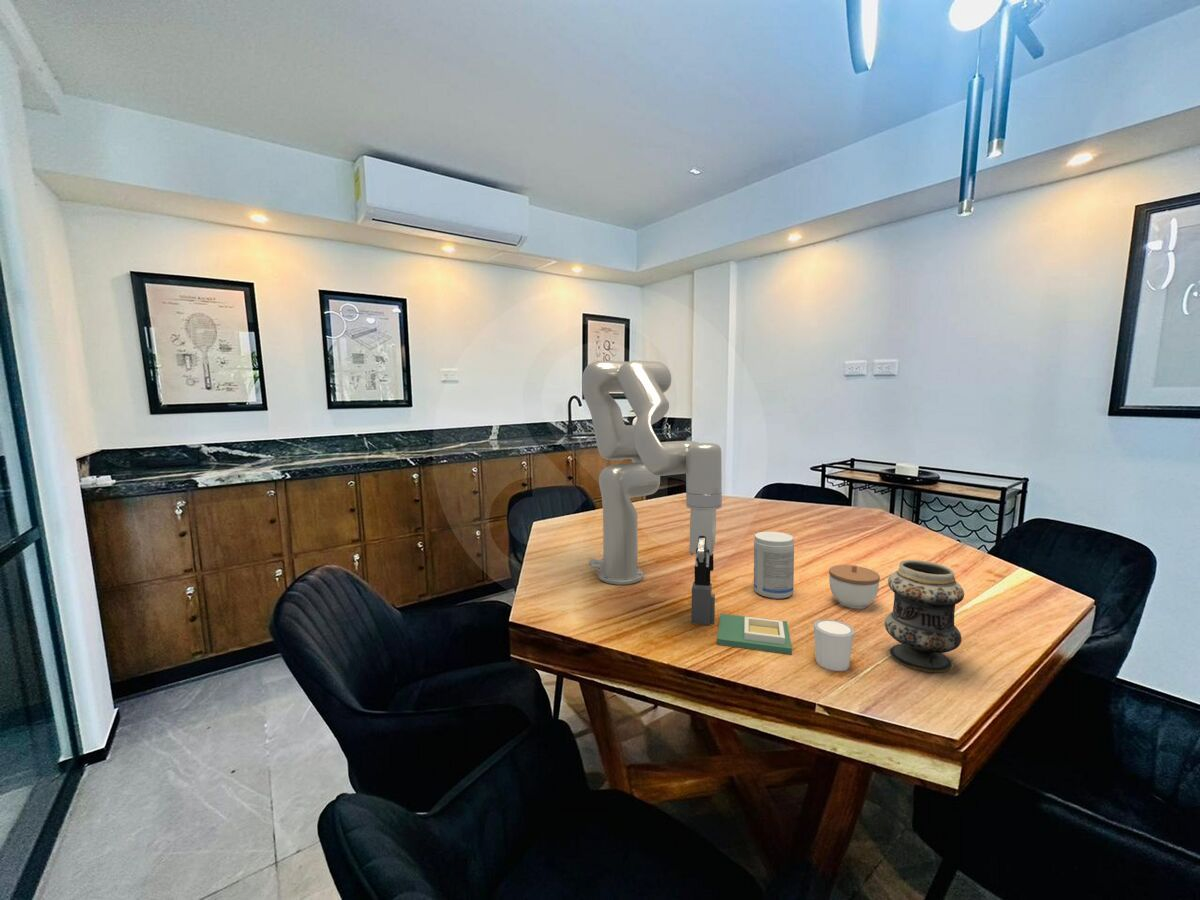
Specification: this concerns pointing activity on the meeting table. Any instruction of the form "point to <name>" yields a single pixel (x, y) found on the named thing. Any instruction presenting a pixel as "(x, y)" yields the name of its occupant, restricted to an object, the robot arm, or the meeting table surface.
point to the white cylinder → (833, 644)
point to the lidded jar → (854, 585)
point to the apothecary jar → (924, 615)
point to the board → (754, 633)
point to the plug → (703, 605)
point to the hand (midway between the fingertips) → (704, 577)
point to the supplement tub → (773, 564)
